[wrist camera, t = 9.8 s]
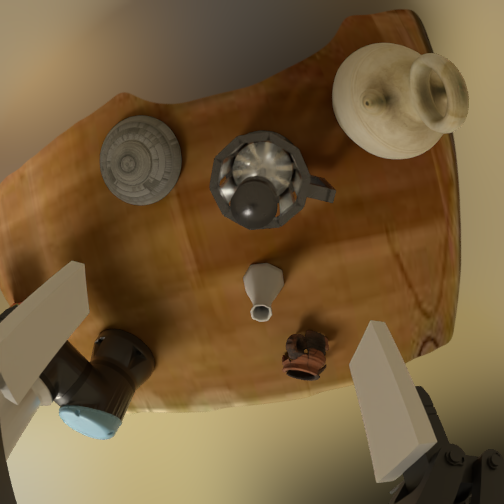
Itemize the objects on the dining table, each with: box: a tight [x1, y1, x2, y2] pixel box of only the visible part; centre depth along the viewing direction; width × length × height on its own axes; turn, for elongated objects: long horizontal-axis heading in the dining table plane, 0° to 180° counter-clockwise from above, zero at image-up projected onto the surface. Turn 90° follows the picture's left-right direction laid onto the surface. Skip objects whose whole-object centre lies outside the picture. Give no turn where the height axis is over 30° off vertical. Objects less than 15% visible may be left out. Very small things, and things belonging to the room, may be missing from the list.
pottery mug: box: [282, 330, 329, 381], centre depth 56 cm, size 12×10×8 cm
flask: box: [243, 263, 284, 322], centre depth 48 cm, size 7×7×10 cm
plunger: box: [230, 142, 292, 229], centre depth 32 cm, size 8×8×21 cm
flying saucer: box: [100, 115, 182, 205], centre depth 43 cm, size 15×15×6 cm
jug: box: [332, 43, 469, 159], centre depth 28 cm, size 15×16×25 cm
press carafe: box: [209, 131, 336, 230], centre depth 39 cm, size 15×12×13 cm
